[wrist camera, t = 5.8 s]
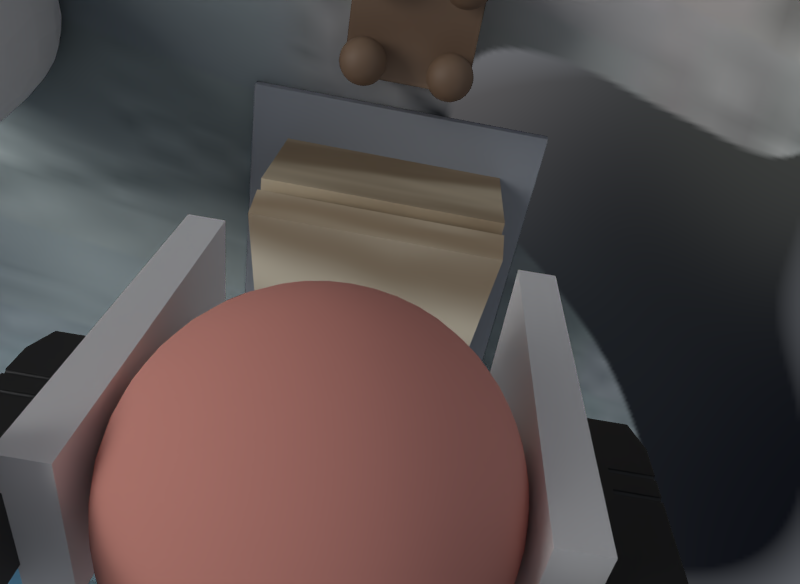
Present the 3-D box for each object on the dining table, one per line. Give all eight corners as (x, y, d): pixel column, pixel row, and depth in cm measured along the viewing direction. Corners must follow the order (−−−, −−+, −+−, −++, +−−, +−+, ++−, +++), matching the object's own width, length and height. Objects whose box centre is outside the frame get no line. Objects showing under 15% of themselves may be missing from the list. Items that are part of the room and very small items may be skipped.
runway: (257, 81, 27) (209, 128, 22) (546, 136, 27) (565, 196, 22) (235, 543, 43) (204, 633, 38) (417, 576, 43) (410, 669, 38)
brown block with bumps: (368, -76, 24) (350, -67, 20) (495, -52, 24) (501, -38, 20) (352, 55, 26) (333, 86, 22) (467, 77, 26) (467, 111, 22)
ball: (180, 182, 11) (-86, 464, 5) (554, 244, 11) (636, 584, 5) (191, 450, 14) (28, 784, 9) (477, 498, 14) (483, 861, 9)
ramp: (290, 135, 28) (248, 196, 23) (499, 174, 28) (507, 245, 23) (270, 382, 35) (236, 472, 30) (436, 412, 36) (431, 507, 30)
